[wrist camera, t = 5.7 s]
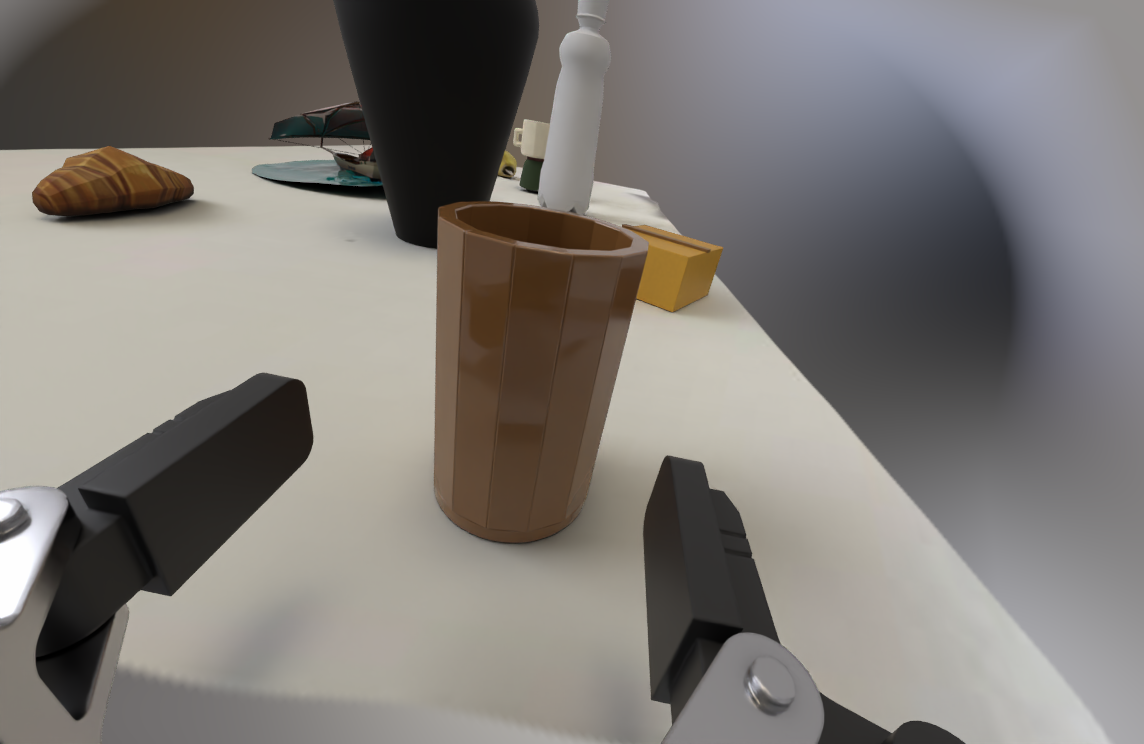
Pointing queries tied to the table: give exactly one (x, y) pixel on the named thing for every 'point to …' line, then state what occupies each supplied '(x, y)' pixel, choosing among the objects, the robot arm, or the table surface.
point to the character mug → (532, 151)
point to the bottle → (576, 114)
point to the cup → (525, 361)
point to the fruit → (507, 165)
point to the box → (675, 268)
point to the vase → (437, 96)
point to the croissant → (108, 185)
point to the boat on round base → (326, 125)
